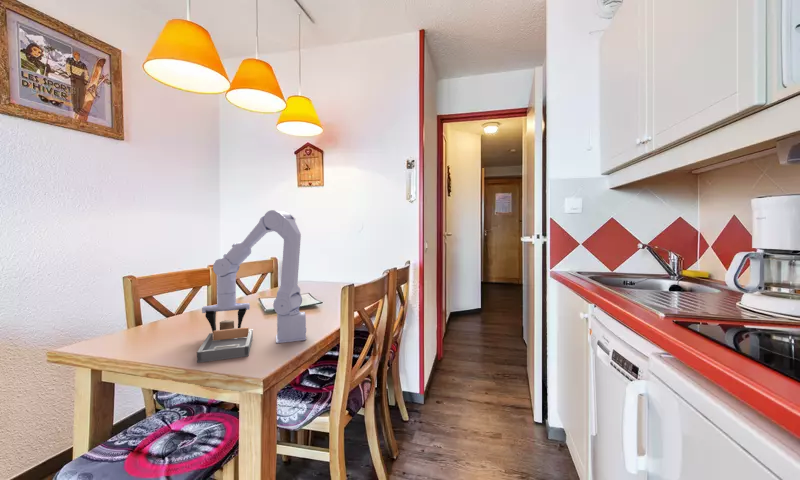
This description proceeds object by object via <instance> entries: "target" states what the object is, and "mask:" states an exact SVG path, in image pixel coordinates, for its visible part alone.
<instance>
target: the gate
mask: <svg viewBox="0 0 800 480" xmlns="http://www.w3.org/2000/svg"><path fill="white" fill-rule="evenodd" d="M212 333H213V341H214V340H223V339H232V338H242V337H248V333H249V327H248V326H246V327H241V328H238V327H237V328H236V327H235V328H234V329H225V330H220V329H216V330H215V331H213V332H212Z"/></svg>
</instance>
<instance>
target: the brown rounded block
mask: <svg viewBox="0 0 800 480" xmlns="http://www.w3.org/2000/svg"><path fill="white" fill-rule="evenodd" d="M225 329H235V320H234V319H224V320H221V321H219V330H225Z"/></svg>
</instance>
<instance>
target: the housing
mask: <svg viewBox="0 0 800 480" xmlns="http://www.w3.org/2000/svg"><path fill="white" fill-rule="evenodd" d="M253 332H254V329H253V328H252V329H251V328H250V329H249V333H248V337H242V338H232V339H223V340H214V341H213V332H210V333H208V334H207V336H206V338H205V340H204V341H203V343H202V344H201V345H200V347H199V349H198V350H197V352H196V364H197V363H205V362H212V361H221V360H228V359H235V358H236V359H237V358H243V357H249V355H250V352H251V347H252V343H253V337H254V336H253V335H254V334H253Z"/></svg>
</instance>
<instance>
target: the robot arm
mask: <svg viewBox="0 0 800 480" xmlns="http://www.w3.org/2000/svg"><path fill="white" fill-rule="evenodd" d="M271 232H274V233H277V234H278V235H279V236H280V237H281V238H282V239H283V249H282V250H283V251H282V261H281V262H282V263H281V264H282V266H281V275H280V276H281V278H280V280H281V281H280V286H279V288H278V290H277V292H276V298H275V299H274V301H273V304H272V305H273V309H274V311H275V313H276V315H277V316H276V322H277V323H276V327H277V329H276V335H275V343H276V344H283V343H291V342H300V341H306V340H307V338H306V337H307V323H306V322H307V319H306V318H307V317H306V312H305V311H300V307H301V306H302V303H303V297H302V295H301V288H300V287H299V285H298V280H299V266H300V255H301V253H300V251H301V241H302V240H301V239H302V238H301V237H302V236H301V235H302V234H301V231H300V229H299V226H298V225H297V222H296V218H295V217H294V215H292V214H291V213H290V212H288V211H279V210H275V209H271V210H267V211H266V212H265V213H264V215H263V216H262V217H260V219H259V221H258V223H257V224H256V225H255V227H253V229H252V230H251V231H250V232H249V234H248V235H247V236H246V237H245V239H244V240H243V241H242V242H241V241H238V242H236V243H233V244H232V245H231V249H230V250H228V252H226V253H225V254H224V255H223V257H222V258H218V259H216V260H215V262H214V263H213V265H212V269H213V273H214V274H215V275H216V293H217V294H216V297H217V298H216V303H217V304H213V305H204V306H203V305H202V307H201V313H202V314H205V315H204V316H205V318H206V320H207V322H208V323H209V325H210V327H211V331H212V332H211V333H213V331H215V330H217V324H216V320H217V317H216V316H217V312H229V311H230V312H231V311H237V328H242V323H243V320H244V317H245V316H246V315H245V314H246V312H247V311H248V310H249V311H250V308H251V303H249V302H247V303H245V302H244V303H243V302H241V303H240V302H239V303H238V302H237V292H236V291H237V289H236V287H237V282H236V281H237V273H238V272H239V270H240V265H241V264H243V262H244V261H245V260H246V259H247V258H248V257H249V256H250V255H251V254H252V248H253V247H254V246H255V245H256V244H257V243H258V242H259V241H260V240H261V239H263V238H264V236H266V235H267V234H268V233H271Z"/></svg>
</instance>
